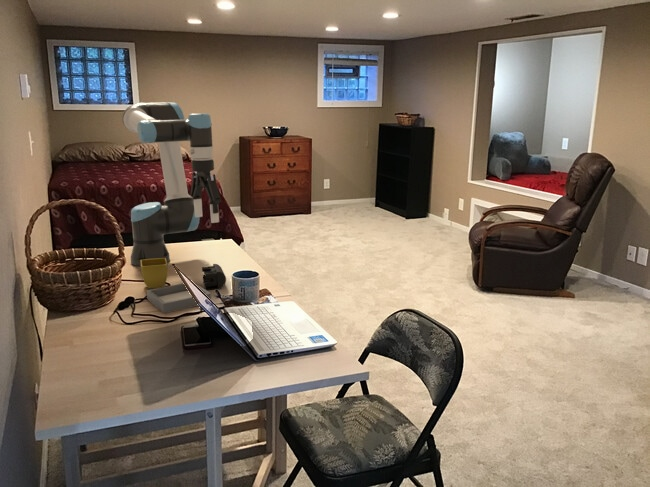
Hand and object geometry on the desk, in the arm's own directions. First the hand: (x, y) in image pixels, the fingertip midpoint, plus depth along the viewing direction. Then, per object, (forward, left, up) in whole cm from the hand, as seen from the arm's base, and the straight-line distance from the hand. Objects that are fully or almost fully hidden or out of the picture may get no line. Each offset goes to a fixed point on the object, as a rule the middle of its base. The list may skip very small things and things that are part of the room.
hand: (206, 219), depth 201 cm
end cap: (+6, -1, -23) cm, 24 cm away
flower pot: (-6, -18, -23) cm, 30 cm away
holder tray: (+13, -17, -23) cm, 31 cm away
